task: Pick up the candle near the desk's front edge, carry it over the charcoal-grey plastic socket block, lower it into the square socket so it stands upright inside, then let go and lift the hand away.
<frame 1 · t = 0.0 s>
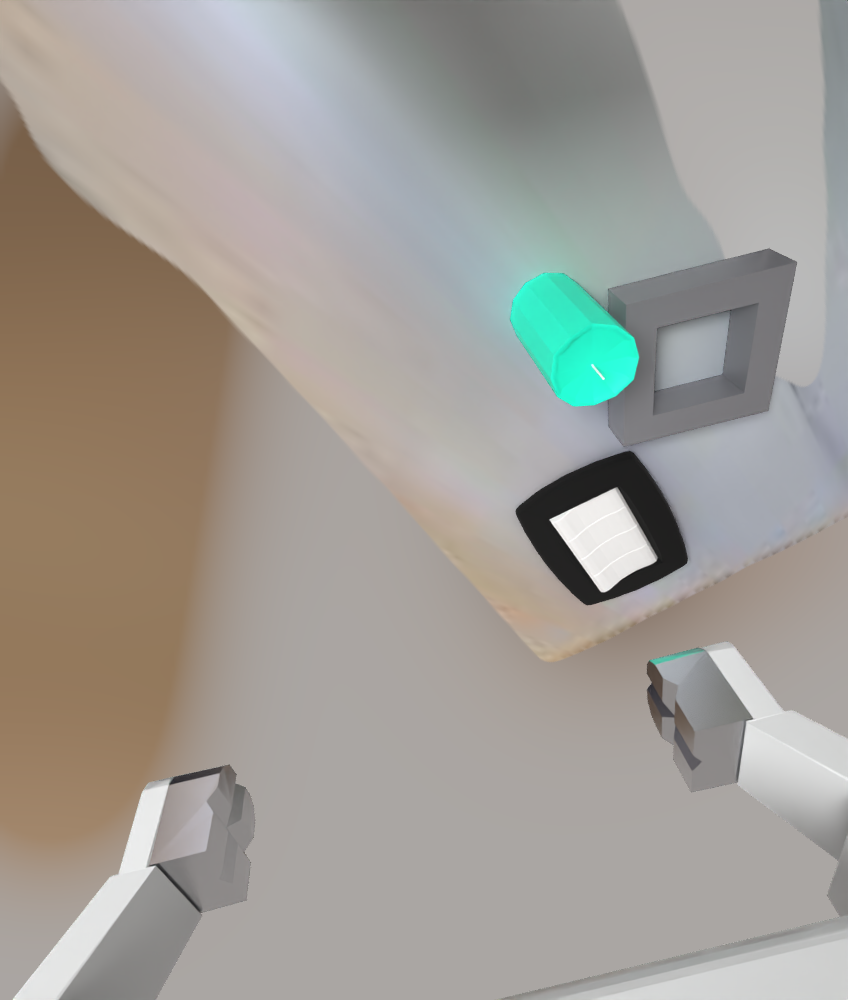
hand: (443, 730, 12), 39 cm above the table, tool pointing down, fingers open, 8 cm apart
socket block: (682, 344, 52), on the table
candle: (546, 309, 48), on the table
light switch: (601, 528, 64), on the table
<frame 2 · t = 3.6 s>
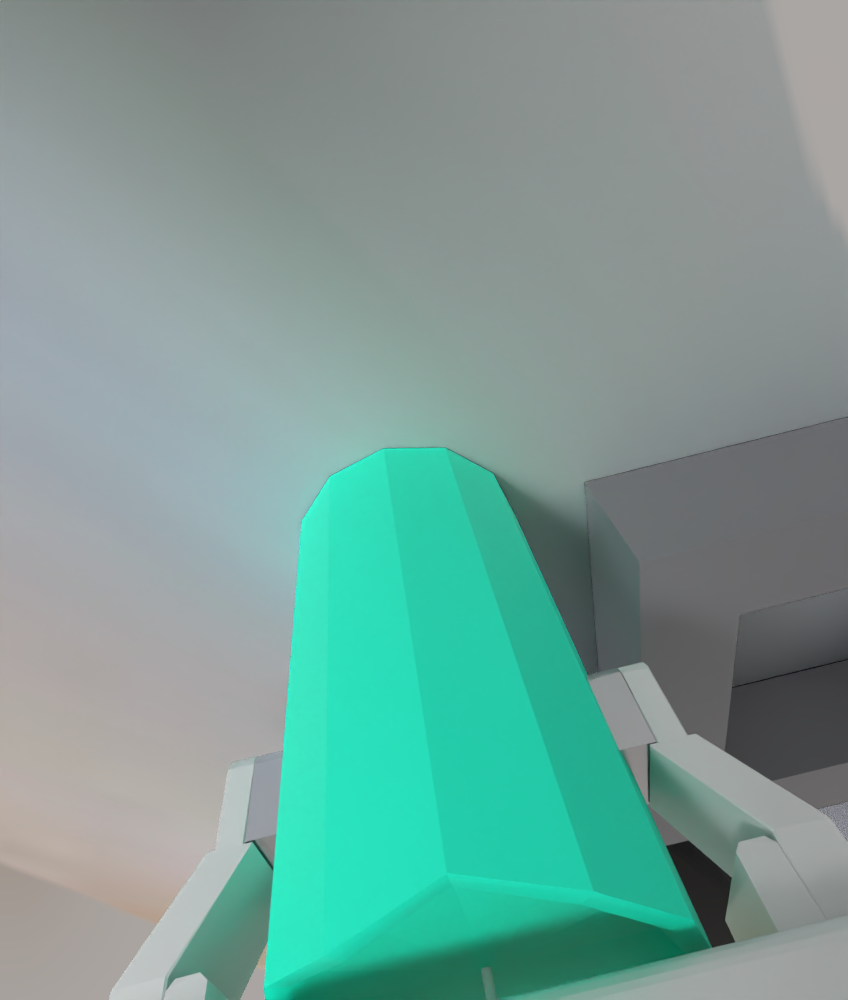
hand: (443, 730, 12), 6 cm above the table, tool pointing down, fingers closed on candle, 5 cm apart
socket block: (788, 598, 20), on the table
candle: (409, 537, 17), on the table, touching gripper
light switch: (596, 902, 31), on the table
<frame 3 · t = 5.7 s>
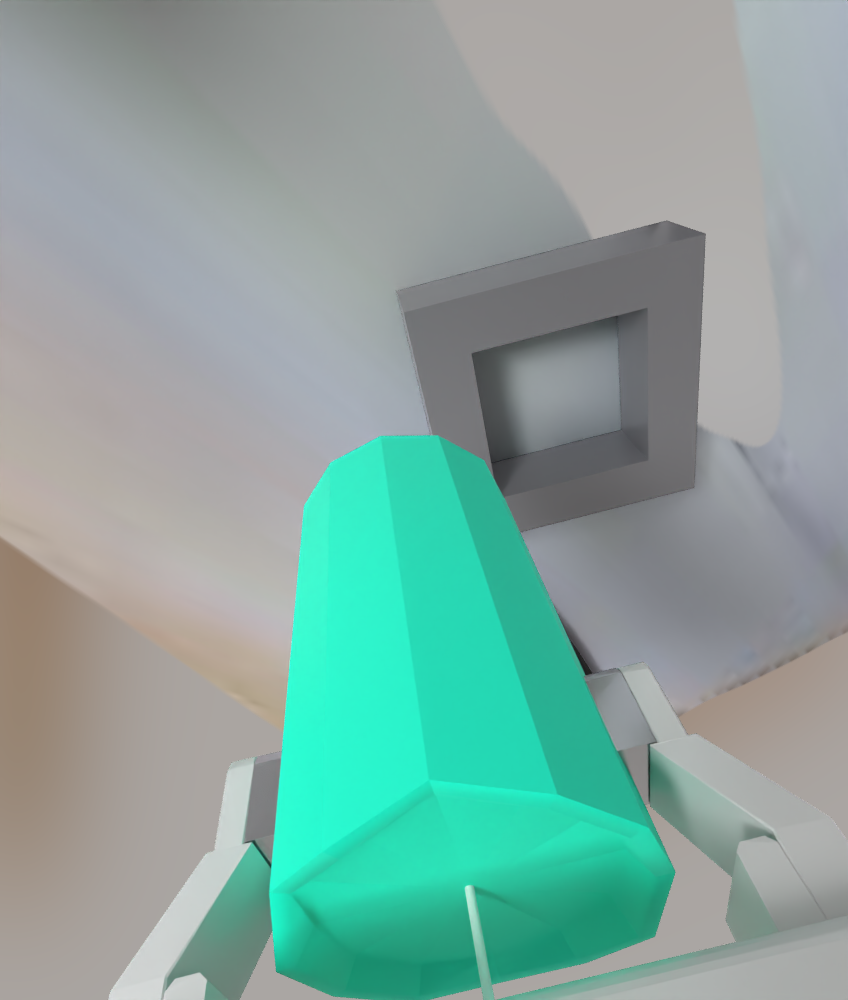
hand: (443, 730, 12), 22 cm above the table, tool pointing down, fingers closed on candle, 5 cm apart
socket block: (545, 382, 32), on the table
candle: (405, 522, 18), point 14 cm above the table, touching gripper
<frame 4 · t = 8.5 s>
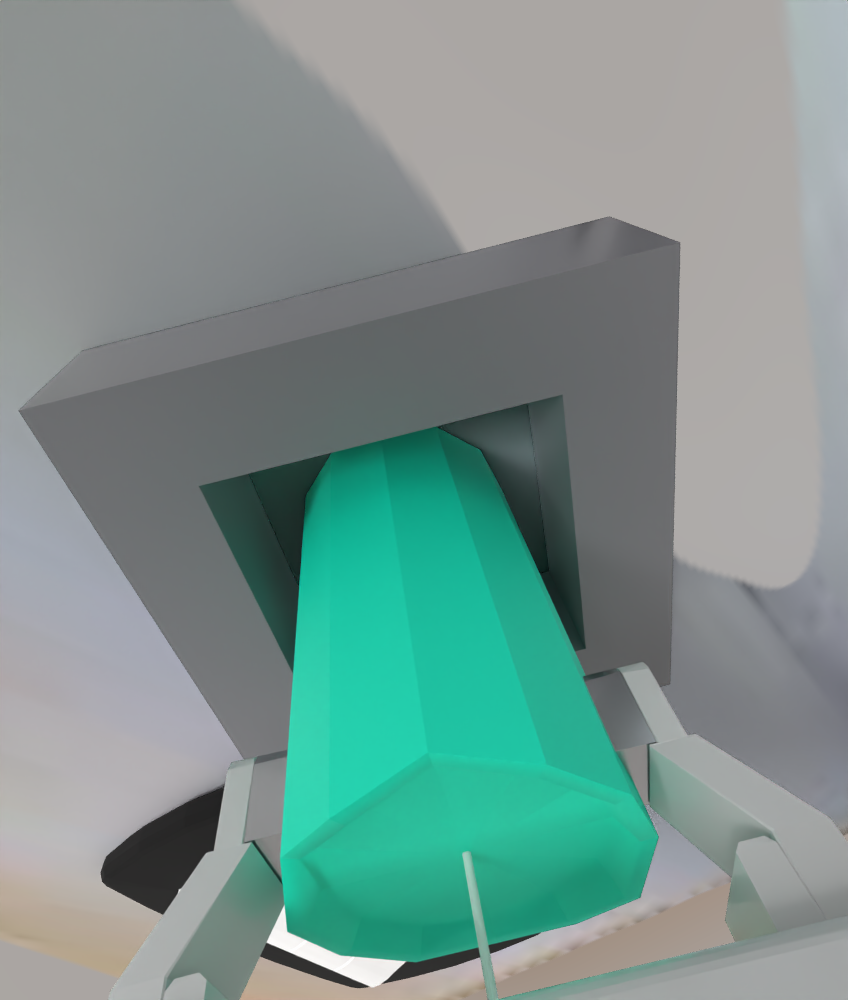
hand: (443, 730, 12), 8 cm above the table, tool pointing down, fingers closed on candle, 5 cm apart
socket block: (405, 503, 18), on the table
candle: (404, 510, 18), resting in socket block, touching gripper
light switch: (345, 867, 30), on the table
when the fingers open (8 cm above the table, at t = 9.6 s): candle stays where it is, resting in socket block.
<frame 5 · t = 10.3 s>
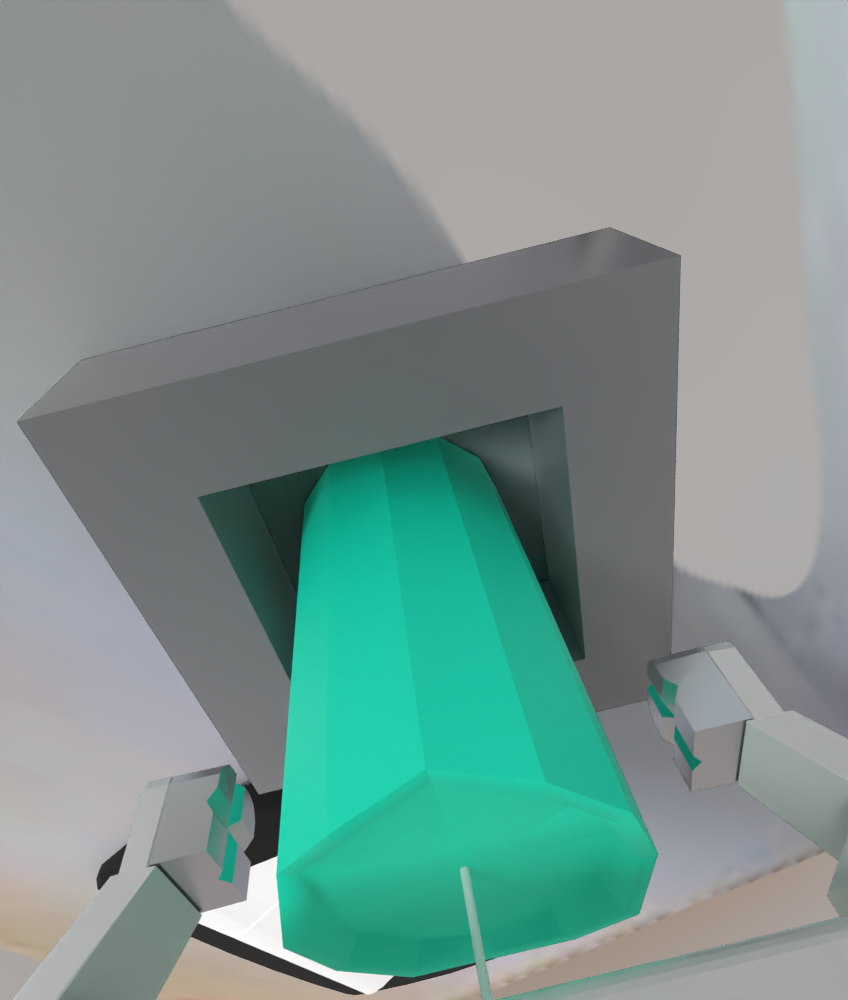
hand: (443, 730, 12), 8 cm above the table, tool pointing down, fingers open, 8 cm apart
socket block: (405, 512, 18), on the table
candle: (403, 518, 18), resting in socket block
light switch: (341, 874, 30), on the table
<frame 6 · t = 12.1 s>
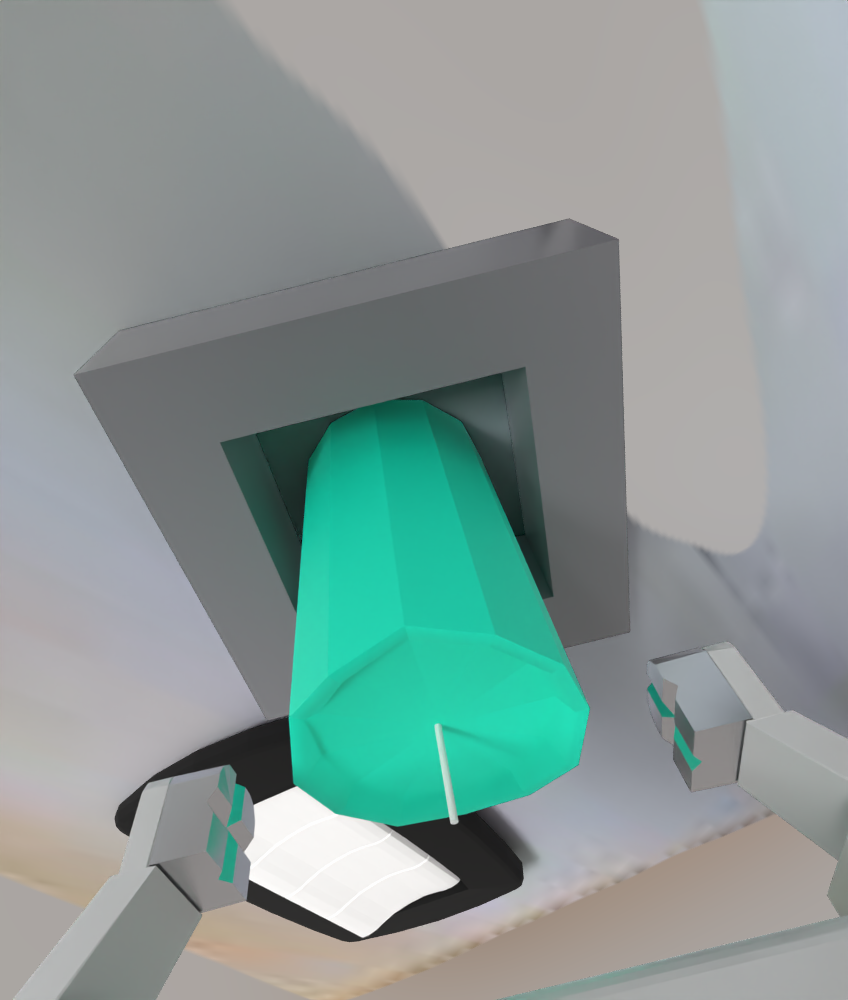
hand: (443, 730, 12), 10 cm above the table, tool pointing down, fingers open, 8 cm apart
socket block: (396, 470, 20), on the table
candle: (395, 476, 21), resting in socket block
light switch: (338, 822, 32), on the table
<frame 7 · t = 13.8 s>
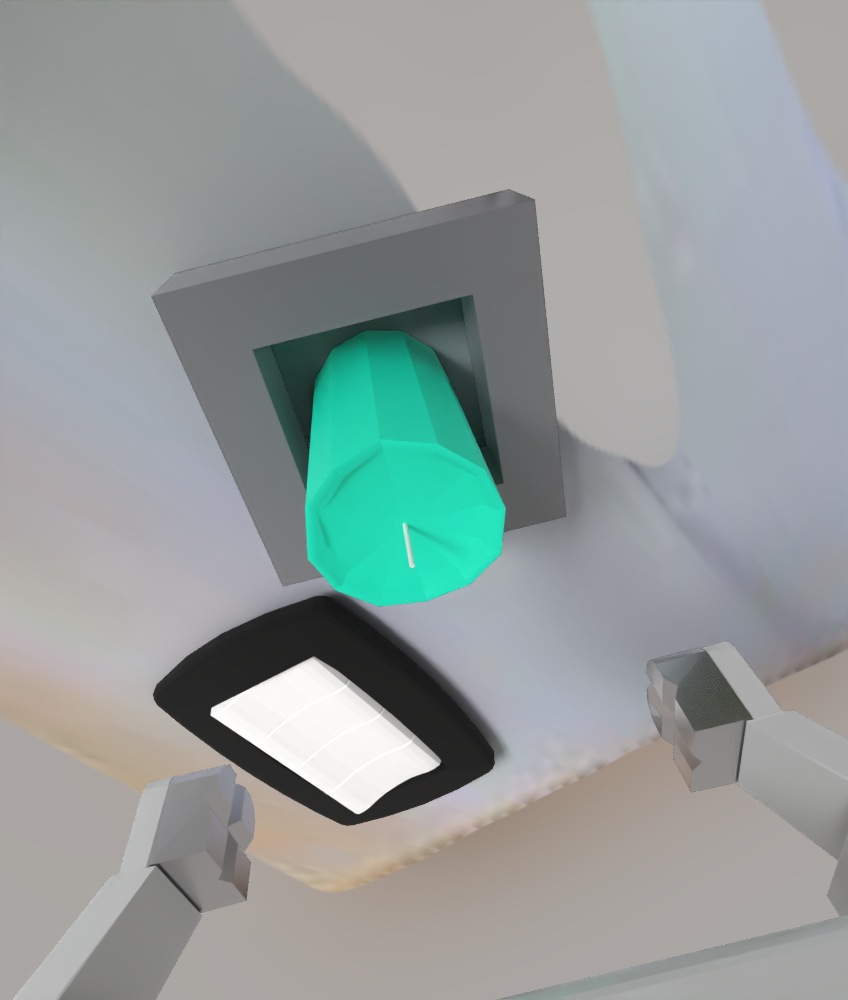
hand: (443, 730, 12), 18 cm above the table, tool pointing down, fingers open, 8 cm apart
socket block: (383, 388, 26), on the table
candle: (382, 394, 27), resting in socket block
light switch: (337, 711, 38), on the table
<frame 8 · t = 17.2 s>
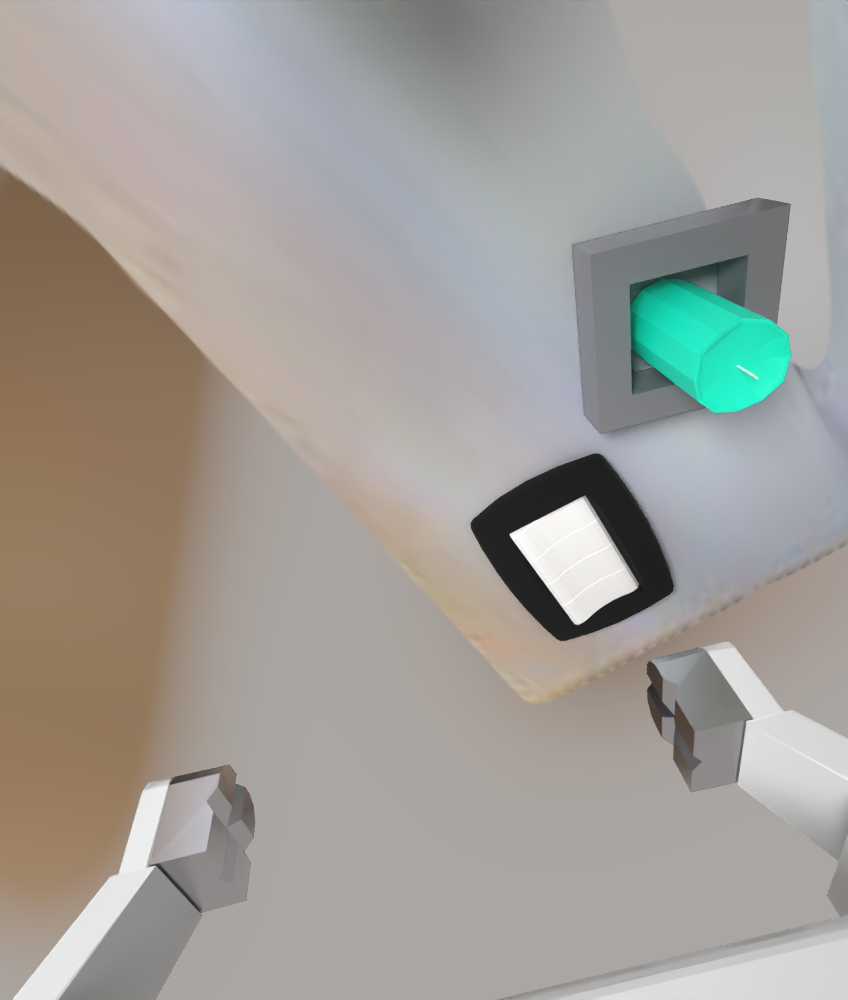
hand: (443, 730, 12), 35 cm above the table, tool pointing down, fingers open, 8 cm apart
socket block: (663, 314, 45), on the table
candle: (660, 318, 45), resting in socket block
light switch: (572, 548, 56), on the table
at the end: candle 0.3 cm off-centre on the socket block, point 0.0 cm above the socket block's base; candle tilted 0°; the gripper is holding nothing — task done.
